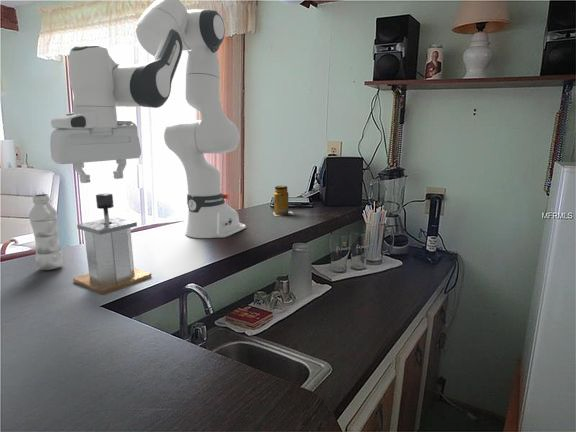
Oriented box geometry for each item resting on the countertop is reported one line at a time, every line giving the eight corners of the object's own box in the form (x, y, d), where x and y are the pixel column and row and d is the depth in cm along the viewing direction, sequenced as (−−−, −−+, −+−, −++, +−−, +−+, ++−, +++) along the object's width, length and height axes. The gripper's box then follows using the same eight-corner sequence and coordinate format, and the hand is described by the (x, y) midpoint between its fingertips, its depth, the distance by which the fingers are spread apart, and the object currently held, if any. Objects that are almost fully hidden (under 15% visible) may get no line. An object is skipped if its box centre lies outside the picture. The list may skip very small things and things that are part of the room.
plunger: (115, 256, 104) (109, 191, 100) (131, 261, 101) (124, 194, 97) (91, 263, 99) (83, 195, 95) (106, 269, 95) (98, 198, 92)
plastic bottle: (53, 273, 105) (42, 197, 100) (30, 271, 106) (19, 197, 102) (70, 265, 111) (61, 193, 107) (49, 263, 112) (39, 192, 108)
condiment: (272, 212, 176) (272, 185, 174) (291, 211, 178) (291, 184, 175) (274, 216, 169) (274, 188, 167) (294, 215, 171) (294, 187, 168)
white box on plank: (121, 267, 110) (116, 215, 106) (151, 277, 102) (146, 221, 99) (73, 282, 99) (66, 225, 96) (103, 294, 92) (96, 233, 89)
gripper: (128, 120, 102) (133, 174, 105) (42, 120, 86) (51, 184, 89) (143, 120, 99) (148, 176, 102) (57, 119, 82) (66, 187, 85)
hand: (102, 180), depth 95 cm, fingers open, 7 cm apart
